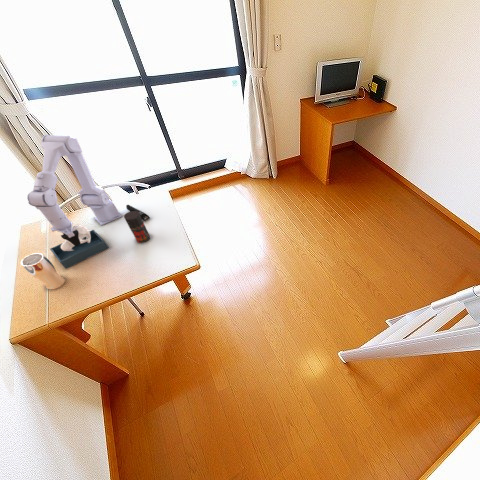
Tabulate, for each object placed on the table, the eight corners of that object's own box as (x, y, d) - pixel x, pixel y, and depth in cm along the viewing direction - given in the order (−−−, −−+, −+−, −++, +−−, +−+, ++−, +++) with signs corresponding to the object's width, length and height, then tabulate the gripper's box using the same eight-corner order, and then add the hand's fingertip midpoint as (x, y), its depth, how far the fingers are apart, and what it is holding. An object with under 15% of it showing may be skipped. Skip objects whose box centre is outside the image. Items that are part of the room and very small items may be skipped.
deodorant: (133, 240, 133) (120, 217, 123) (143, 233, 137) (131, 209, 127) (143, 244, 132) (131, 221, 121) (153, 237, 136) (142, 213, 125)
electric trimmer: (132, 207, 150) (130, 202, 148) (150, 218, 145) (148, 213, 143) (126, 210, 148) (123, 206, 146) (144, 222, 143) (141, 217, 141)
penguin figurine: (86, 225, 120) (59, 245, 113) (97, 238, 127) (72, 257, 119) (75, 220, 121) (48, 239, 114) (87, 233, 128) (61, 251, 121)
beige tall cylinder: (43, 292, 110) (18, 268, 99) (46, 279, 114) (22, 255, 104) (65, 286, 113) (42, 263, 102) (67, 274, 117) (45, 250, 106)
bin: (98, 236, 133) (93, 229, 130) (108, 247, 129) (104, 241, 126) (55, 255, 123) (49, 248, 120) (65, 268, 119) (59, 262, 116)
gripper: (37, 213, 112) (57, 237, 121) (51, 230, 106) (70, 253, 116) (58, 205, 116) (75, 229, 126) (72, 221, 110) (89, 245, 120)
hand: (74, 240), depth 121 cm, fingers closed on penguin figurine, 6 cm apart
